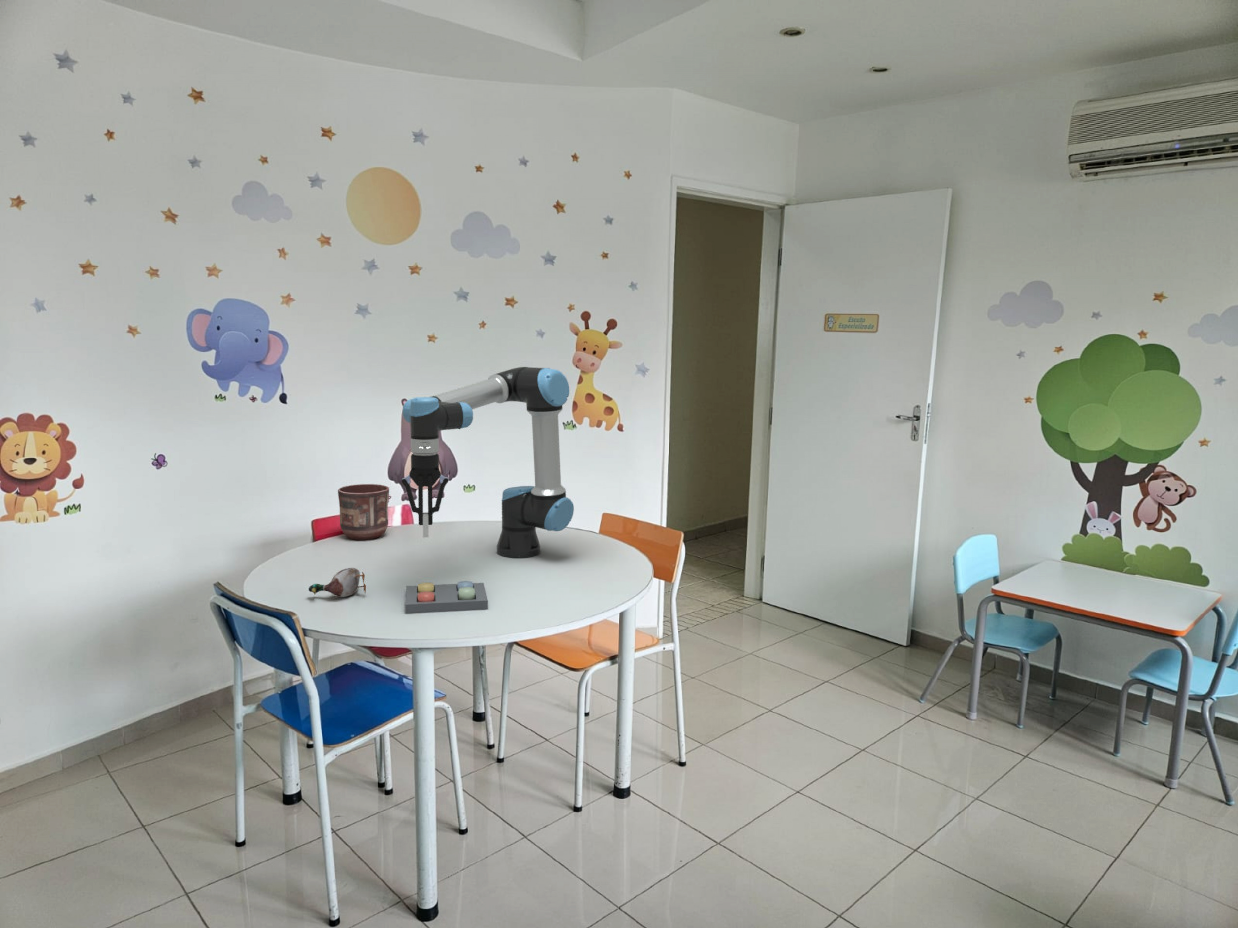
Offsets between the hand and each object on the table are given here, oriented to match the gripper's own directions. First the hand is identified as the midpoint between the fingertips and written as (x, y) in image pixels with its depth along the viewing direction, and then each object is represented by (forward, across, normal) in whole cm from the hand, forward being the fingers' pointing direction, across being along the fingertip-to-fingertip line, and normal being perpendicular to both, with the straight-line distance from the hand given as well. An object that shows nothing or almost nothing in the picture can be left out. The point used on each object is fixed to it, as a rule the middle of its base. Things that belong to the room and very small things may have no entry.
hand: (425, 536), depth 220 cm
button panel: (+18, +5, -4) cm, 19 cm away
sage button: (+17, +11, -8) cm, 22 cm away
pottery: (+19, -22, +72) cm, 77 cm away
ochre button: (+18, 0, 0) cm, 18 cm away
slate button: (+18, +11, 0) cm, 21 cm away
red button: (+18, 0, -8) cm, 19 cm away
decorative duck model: (+18, -24, +7) cm, 31 cm away
